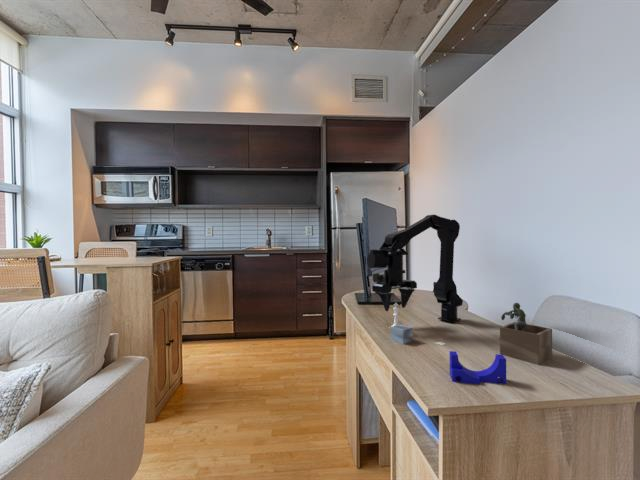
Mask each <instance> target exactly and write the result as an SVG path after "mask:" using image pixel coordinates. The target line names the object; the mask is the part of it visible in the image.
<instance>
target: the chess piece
mask: <svg viewBox="0 0 640 480" xmlns="http://www.w3.org/2000/svg"><path fill="white" fill-rule="evenodd" d="M393 306H394V307H393V312H394V313H393V314H392V315H393V316H394V320H393V324H392V325H391V327H392V326H396V325H399V320H398V316H400V314H399V313H398V311H399V309H400V307H398V306H399V304H398V302H394V304H393Z"/></svg>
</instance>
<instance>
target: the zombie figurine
mask: <svg viewBox="0 0 640 480" xmlns="http://www.w3.org/2000/svg"><path fill="white" fill-rule="evenodd" d="M506 316H508V317H510V318H509V319H511V320H513V319H514V318H515V319H517V320H516V321H515V322H516V323H515V330H519V326H521V328H522V331H524V332H525V326H526V325H527V324H528V323H527V322H526V317H527V315H526V313H525V311H524V310H523V309H521V305H520V303H519V302H514V303H513V305H512V310H509V311H505V312H504V313H502V314H501V316H500V317H501V321H504V320H505V319H506Z"/></svg>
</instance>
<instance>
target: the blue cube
mask: <svg viewBox="0 0 640 480" xmlns="http://www.w3.org/2000/svg"><path fill="white" fill-rule="evenodd" d="M391 326H392V327H391V328H390V341H392V340H393V341H392V342H394V343H398V344H401V345H405V344H408V343H411V342H413V341H414V335H413V334H414V329H413V328H414V327H412V326H408V325H404V324H401V323H400V324H398V325H396V326H393V325H391Z"/></svg>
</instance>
